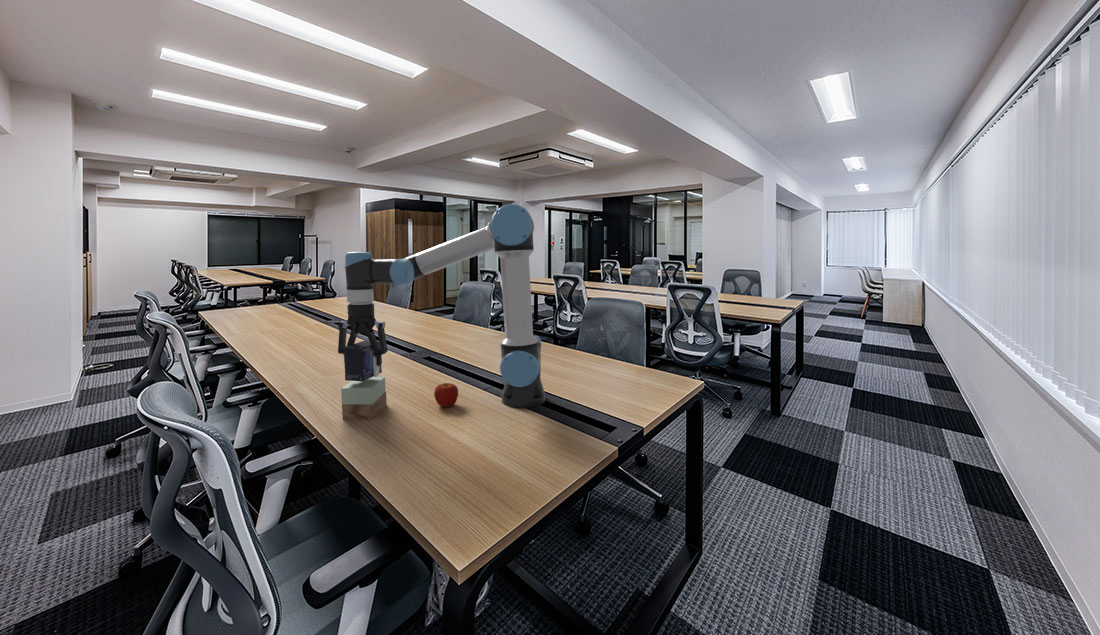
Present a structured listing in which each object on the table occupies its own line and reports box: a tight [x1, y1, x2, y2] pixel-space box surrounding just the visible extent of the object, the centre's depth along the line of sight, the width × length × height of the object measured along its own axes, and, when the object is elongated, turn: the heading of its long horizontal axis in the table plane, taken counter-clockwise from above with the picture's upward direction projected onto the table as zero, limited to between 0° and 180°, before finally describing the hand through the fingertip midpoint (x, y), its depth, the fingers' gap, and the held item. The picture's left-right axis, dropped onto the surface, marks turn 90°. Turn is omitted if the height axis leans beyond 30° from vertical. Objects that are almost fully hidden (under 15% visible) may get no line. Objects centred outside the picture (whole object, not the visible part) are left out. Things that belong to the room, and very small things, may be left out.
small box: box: [343, 340, 383, 382], centre depth 133 cm, size 11×6×10 cm, turn 170°
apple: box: [433, 382, 459, 408], centre depth 141 cm, size 8×8×8 cm
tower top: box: [340, 376, 387, 405], centre depth 134 cm, size 9×12×5 cm
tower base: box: [341, 391, 388, 420], centre depth 135 cm, size 9×12×5 cm
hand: (364, 375), depth 134 cm, fingers closed on small box, 7 cm apart
